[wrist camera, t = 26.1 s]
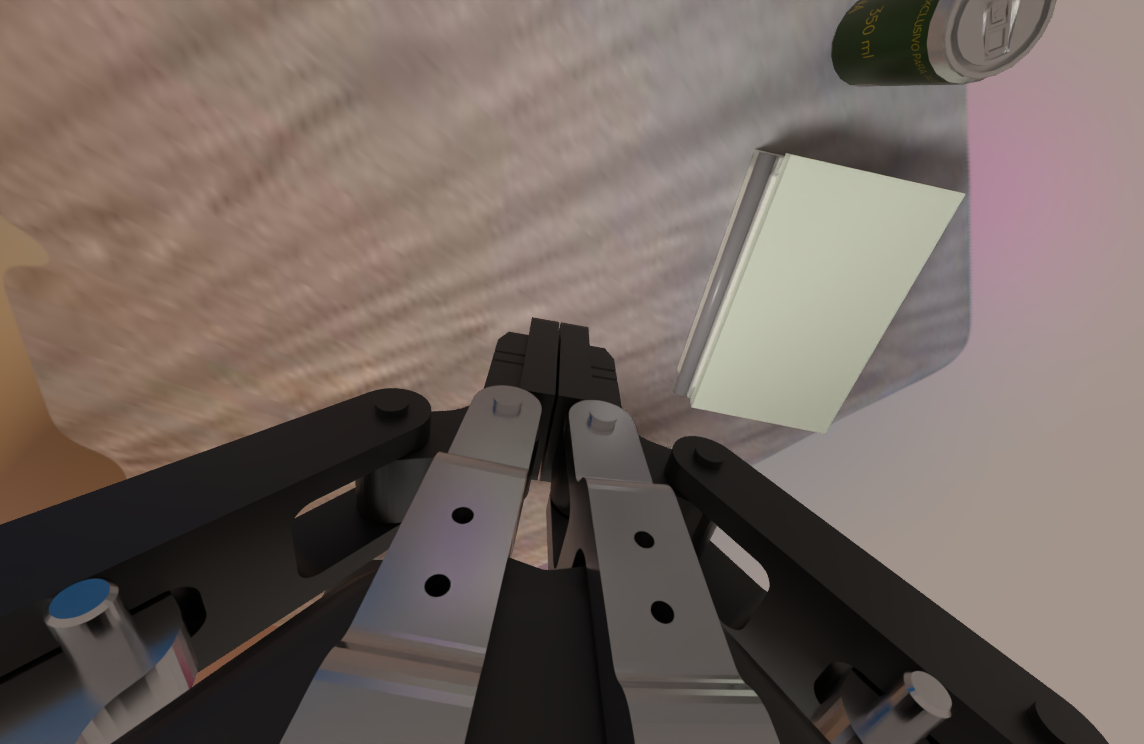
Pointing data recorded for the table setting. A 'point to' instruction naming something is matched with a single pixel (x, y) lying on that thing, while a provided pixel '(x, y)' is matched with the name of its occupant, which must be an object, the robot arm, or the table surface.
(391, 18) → the table surface
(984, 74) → the beer can
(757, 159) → the shallow rectangular tray
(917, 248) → the cover
